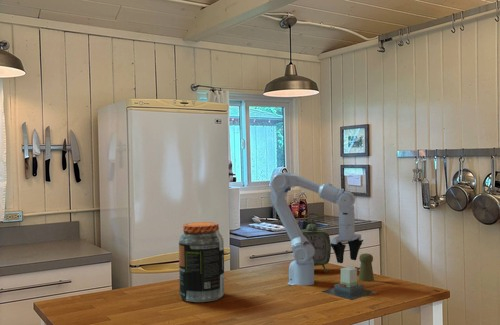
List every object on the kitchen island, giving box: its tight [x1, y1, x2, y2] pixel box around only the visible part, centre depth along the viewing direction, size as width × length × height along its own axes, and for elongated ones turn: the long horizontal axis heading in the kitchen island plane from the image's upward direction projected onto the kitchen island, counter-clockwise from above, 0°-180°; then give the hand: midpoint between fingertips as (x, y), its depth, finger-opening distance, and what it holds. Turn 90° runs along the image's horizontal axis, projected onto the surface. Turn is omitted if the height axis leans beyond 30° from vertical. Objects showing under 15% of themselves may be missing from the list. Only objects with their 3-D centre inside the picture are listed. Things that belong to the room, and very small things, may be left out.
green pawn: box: [358, 252, 375, 282], centre depth 193 cm, size 6×6×11 cm
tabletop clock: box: [300, 212, 332, 273], centre depth 211 cm, size 14×9×25 cm, turn 90°
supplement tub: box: [178, 221, 225, 303], centre depth 174 cm, size 16×16×26 cm
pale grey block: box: [339, 266, 358, 288], centre depth 176 cm, size 4×4×6 cm
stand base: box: [320, 282, 378, 301], centre depth 176 cm, size 14×14×4 cm
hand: (346, 261), depth 183 cm, fingers open, 7 cm apart
